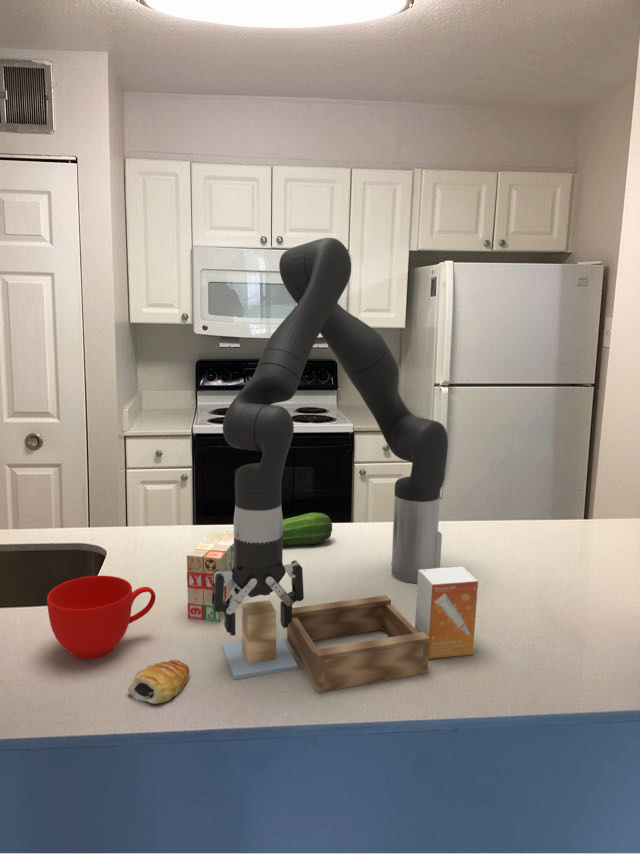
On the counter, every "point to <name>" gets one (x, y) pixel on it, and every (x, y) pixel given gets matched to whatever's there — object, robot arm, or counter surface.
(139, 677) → the pastry
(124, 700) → the counter surface
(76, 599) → the ceramic cup
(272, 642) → the block
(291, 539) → the vegetable
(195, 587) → the stack of blocks
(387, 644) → the crate
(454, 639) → the small box
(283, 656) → the pad
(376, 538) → the counter surface
